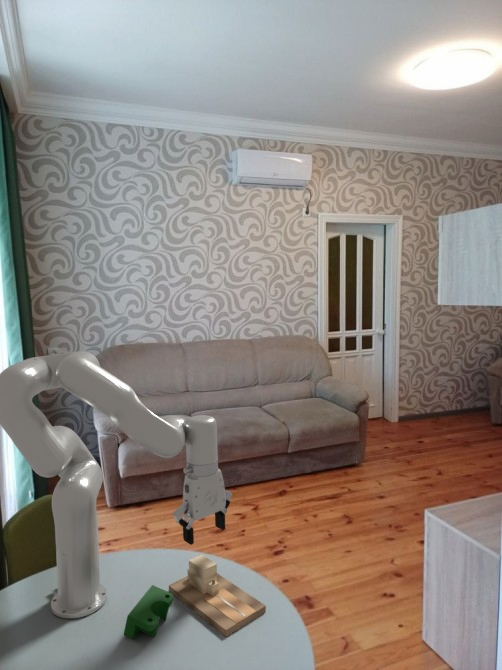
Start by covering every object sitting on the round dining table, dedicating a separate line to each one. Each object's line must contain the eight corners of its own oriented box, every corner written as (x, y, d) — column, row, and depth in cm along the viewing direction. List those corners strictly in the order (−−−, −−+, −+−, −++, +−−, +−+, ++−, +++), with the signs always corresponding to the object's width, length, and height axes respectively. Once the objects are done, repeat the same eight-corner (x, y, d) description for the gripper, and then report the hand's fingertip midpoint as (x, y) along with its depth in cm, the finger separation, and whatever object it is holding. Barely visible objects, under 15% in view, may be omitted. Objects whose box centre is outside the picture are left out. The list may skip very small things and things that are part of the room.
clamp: (148, 657, 104) (148, 635, 99) (124, 645, 105) (123, 623, 100) (174, 606, 114) (175, 583, 109) (152, 596, 115) (152, 573, 110)
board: (168, 590, 120) (168, 584, 120) (207, 571, 128) (207, 566, 128) (226, 636, 104) (226, 629, 104) (265, 611, 112) (265, 605, 112)
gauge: (184, 579, 122) (184, 557, 121) (197, 573, 124) (197, 551, 124) (209, 598, 114) (208, 573, 114) (222, 591, 117) (221, 567, 116)
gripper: (181, 481, 108) (184, 554, 110) (239, 461, 120) (241, 527, 121) (163, 473, 114) (166, 542, 115) (220, 454, 125) (222, 518, 127)
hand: (205, 535), depth 118 cm, fingers open, 9 cm apart
